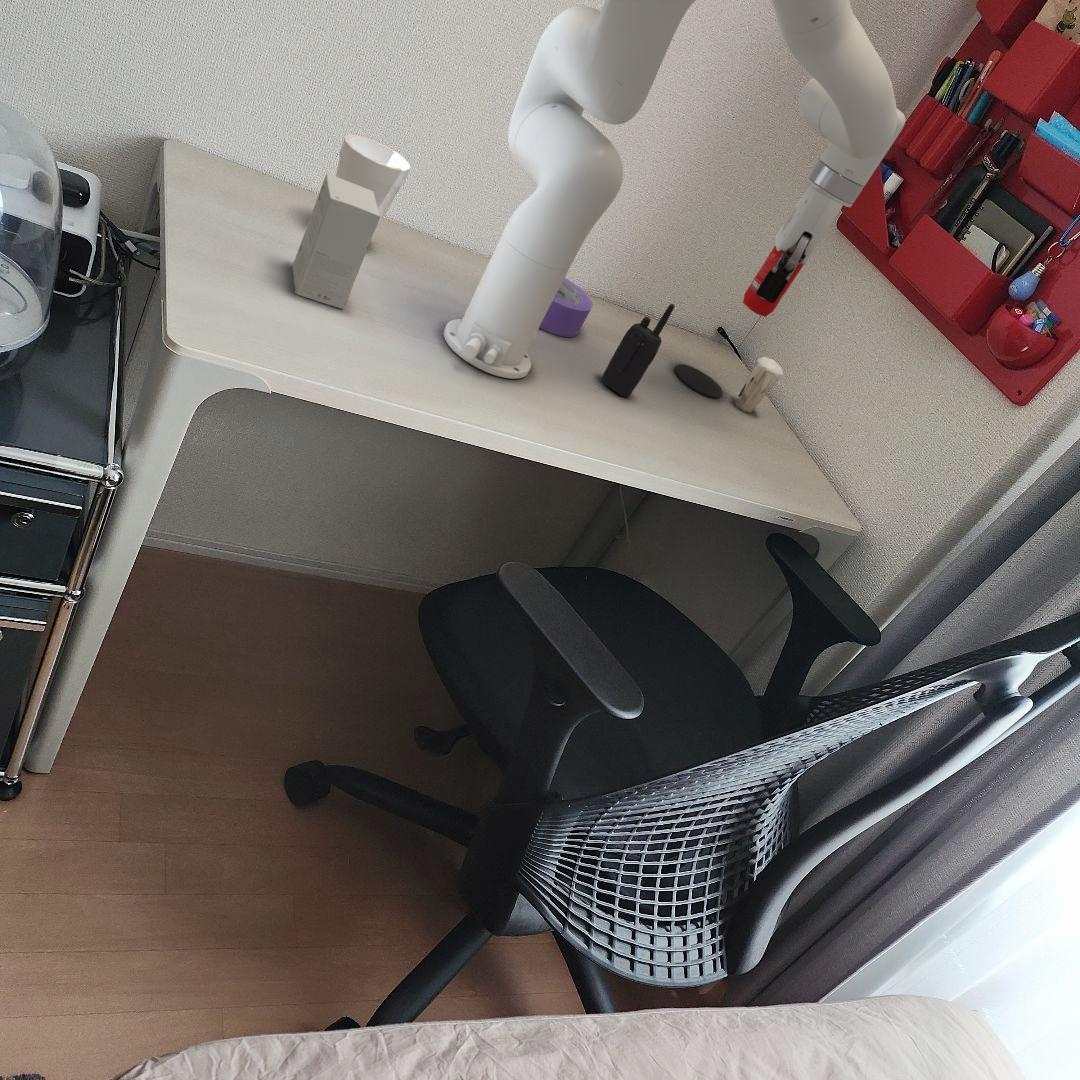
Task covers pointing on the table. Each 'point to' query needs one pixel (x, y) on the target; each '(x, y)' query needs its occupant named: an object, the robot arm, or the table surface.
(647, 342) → the two-way radio
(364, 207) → the small box
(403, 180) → the foam cup
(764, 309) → the beverage can
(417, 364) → the table surface
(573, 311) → the tape roll
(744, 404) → the milkshake
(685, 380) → the coaster
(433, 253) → the table surface
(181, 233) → the table surface
